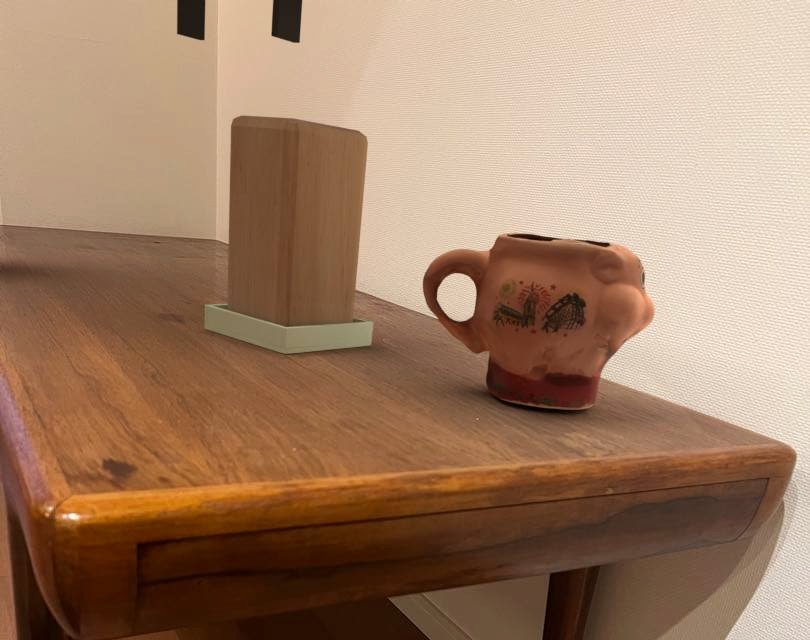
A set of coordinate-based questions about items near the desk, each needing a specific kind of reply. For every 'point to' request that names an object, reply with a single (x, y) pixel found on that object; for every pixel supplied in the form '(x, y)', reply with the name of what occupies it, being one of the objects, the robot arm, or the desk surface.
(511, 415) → the desk surface
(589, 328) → the terracotta mug
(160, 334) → the desk surface
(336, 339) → the shallow tray
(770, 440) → the desk surface
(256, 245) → the block
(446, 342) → the desk surface
